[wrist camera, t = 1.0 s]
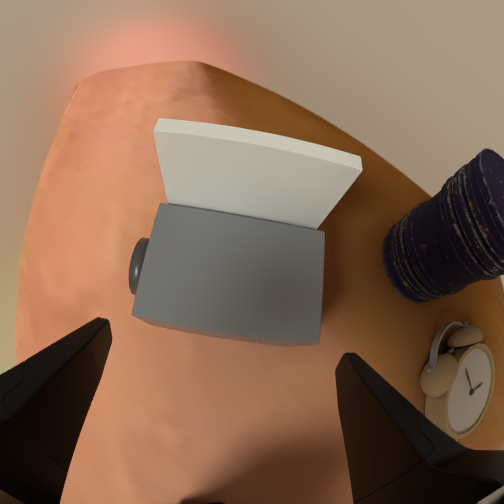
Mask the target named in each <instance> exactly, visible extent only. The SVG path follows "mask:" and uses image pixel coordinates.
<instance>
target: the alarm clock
mask: <svg viewBox="0 0 504 504" xmlns="http://www.w3.org/2000/svg"><path fill="white" fill-rule="evenodd" d="M452 325H455V326H456V327H461V328H458V329H456V330H455V331H454V332H452V333H451V335H450V336H449V338H448V342H447V346H448V347H452V348H451V349H450V350H449V351H447V352H446V353H445V354H441V355H437V354H438V348H439V344H440V341H441V339H442V337H443V335H444V333H445V332H446V330H447V329H448V328H449V327H450V326H452ZM469 325H470V324H469ZM463 326H464V327H463ZM482 340H483V334H482V331H481V330H480V329H479V328H478V327H475V326H468V325H467V321H464V323H463V324H462V323H460V322H457V321H456V322H450V323H446V324H445V325H443V326H442V327H441V328H440V329H439V330H438V332H437V333H436V335H435V337H434V339H433V342H432V346H431V351H430V359H429V362H428V363H427V364H426V365H425V367H424V369H423V371H422V373H421V376H420V385H421V389H422V390H423V392H424V393H425V394H426V403H425V416H426V418H428V419H429V420H430V421H431V422H432V423H433V424H435V425H436V426H437V427H439V428H440V429H441V430H442V431H444V432H445V433H446V434H448V435H449V436H451V437H452V438H454V439H455V440H456V441H458V439H460V438H464V437H466V436H467V435H468V434H470V433H471V432H472V431H473V430H474V429H475V428H476V427H477V426H478V424H479V423H480V422H481V420H482V418H483V417H484V415H485V413H486V411H487V409H488V406H489V403H490V401H491V398H492V394H493V389H494V384H495V365H494V358H493V356H492V353H491V351H490V349H489V348H488V347H487V346H486V345H485V344H481V343H477V342H479V341H482ZM474 343H475V344H474Z"/></svg>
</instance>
